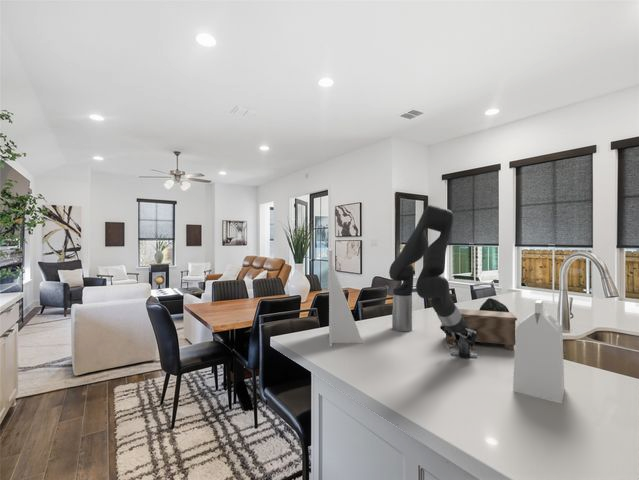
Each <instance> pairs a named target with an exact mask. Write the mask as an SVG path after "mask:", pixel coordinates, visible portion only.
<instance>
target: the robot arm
mask: <svg viewBox="0 0 639 480" xmlns="http://www.w3.org/2000/svg"><path fill="white" fill-rule="evenodd" d="M453 213H454V212H453V211H451V210H450V209H448V208H444V207H441V206H438V205H437V206H436V205H433V204H429V205H427V206H426V207H425V209H424V210H423V212H422V215H421V216H420V218H419V220H418V222H417V225H416V226H415V228H414V230H413V231H412V234H411V235H410V236H409V238H408V239H407V241H406V243H405V244H404V246H403V248H402V250H401V251H400V253H399V254H398V256H396V258H395V259H394V260H393V262H391V265H390V267H389V272H388V273H389V278H390V279H391V280H392V281H395V282H402V283H401V284H400V285H399V286H396V287H394V288H393V289H392V310H391V311H392V312H391V316H392V317H391V319H392V321H391V324H392V325H391V327H392V330H394V331H397V332H410V331H412V330H413V290H414V277H415V276H414V272H415V271H414V266H413V264H415V263H416V262H418V261H420V260H421V259H423V257H424V261H423V267H422V269H421V271H420V273H419V275H418V276H417V277H418V278H417V280H416V284H415V290H416V293H417V295H418V297H420V298H422V299H431V300H430V304H431V307H432V309H433V310H434V312H435V313H436V315H437V318H438V320H439V321H440V323H441V325H440V327H439V329H440V330H441V331H442V332H443V333H445V335H446V334H447V335H448V336H449V337H451V336H452V337H453V338H454V339H455V342H456V343H457V344H458V345H459V337H458V335H460V336H461V337H462V338H463V339H466V340H467V341H468V344H469V345H470V347H475V344H476V341H475V340H476V338H477V330H476V329H473V330H471V329H469V328H468V327H467V326H466V324H465V320H464V318H463V316H462V315H461V313H460V311H459V309H460V308H458V306H457V305H456V304H455V302H454V301H453V299H452V297H451V293H450V284H449V281H448V279H447V278H446V277H445V276H443V273H444V272H445V271H446V269H445V268H446V253H447V248H448V245H449V241H450V237H451V236H450V235H451V232H452V231H451V230H452V227H453V223H454V222H453V221H454V214H453ZM427 229H429V230H432V231H436V232H440V234H439V236H438V237H437V238H436V239H435V240H434V241H433V242H432V243H431V244H429V239H428V237H427V233H426V230H427ZM441 275H442V276H441ZM448 331H449V333H448ZM468 336H469V337H468Z"/></svg>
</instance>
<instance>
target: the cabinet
mask: <svg viewBox="0 0 639 480" xmlns="http://www.w3.org/2000/svg"><path fill="white" fill-rule="evenodd" d="M458 309H459V311H460V313H461V315H462V316H463V318H464V320H465V324H466V326H467V327H468V328H469V329H471V330H473V329H476V330H477V338H476V340H475V342H477V343H478V342H480V343H491V344H499V345H500V344H501V345H504V346H503V347H504V349H505V350H511V351H515V340H516V321H518V317H517V316H515V314H514V313H513V312H510V311H509V312H496V311H481V310H478V309H476V310H475V309H465V308H464V309H463V308H458ZM448 333H449V331H448ZM445 339H446V340H447V344H450V345H455V344H456V340H455V339H454V338H453V337H452V336H451V337H449V336H448V335H447V334H446V333H445Z"/></svg>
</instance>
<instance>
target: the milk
mask: <svg viewBox="0 0 639 480" xmlns="http://www.w3.org/2000/svg"><path fill="white" fill-rule="evenodd" d="M544 308H545V307H544V300H542V299H541V300H540V299H537V300H536V301H535V302H534V311H533V312H531V313H530V314H528V315H527V316H526V317H524V318H523V319H521V320H520V321H519V323H518V324H517V325H516V327H515V345H514V365H513V383H512V392H515V393H517V394H518V393H519V394H523V395H526V396H530V397H534V398H538V399H543V400H546V401H551V402H554V403H558V404H563V399H564V393H565V370H564V369H565V366H564V342H563V341H564V339H563V326H562V325H561V324H560V322H559V321H558V319H557V318H556V317H555V316H554V315H553V314H552V313H550V312H548V311H546V309H544Z"/></svg>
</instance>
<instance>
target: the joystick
mask: <svg viewBox="0 0 639 480" xmlns="http://www.w3.org/2000/svg"><path fill="white" fill-rule="evenodd" d="M458 337H459V344H458V345H455V344H450V351H451V352H450V353H451V355H450V356H455V357H456V356H457V357H459V358H461V359H470V358H472V359H473V358H474V359H478V353H477V349H476V347H475V346H473V347H470V345H469V344H468V341H467V340H466V339H463V338H462V337H461V336H460V335H458ZM468 337H469V336H468Z"/></svg>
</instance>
